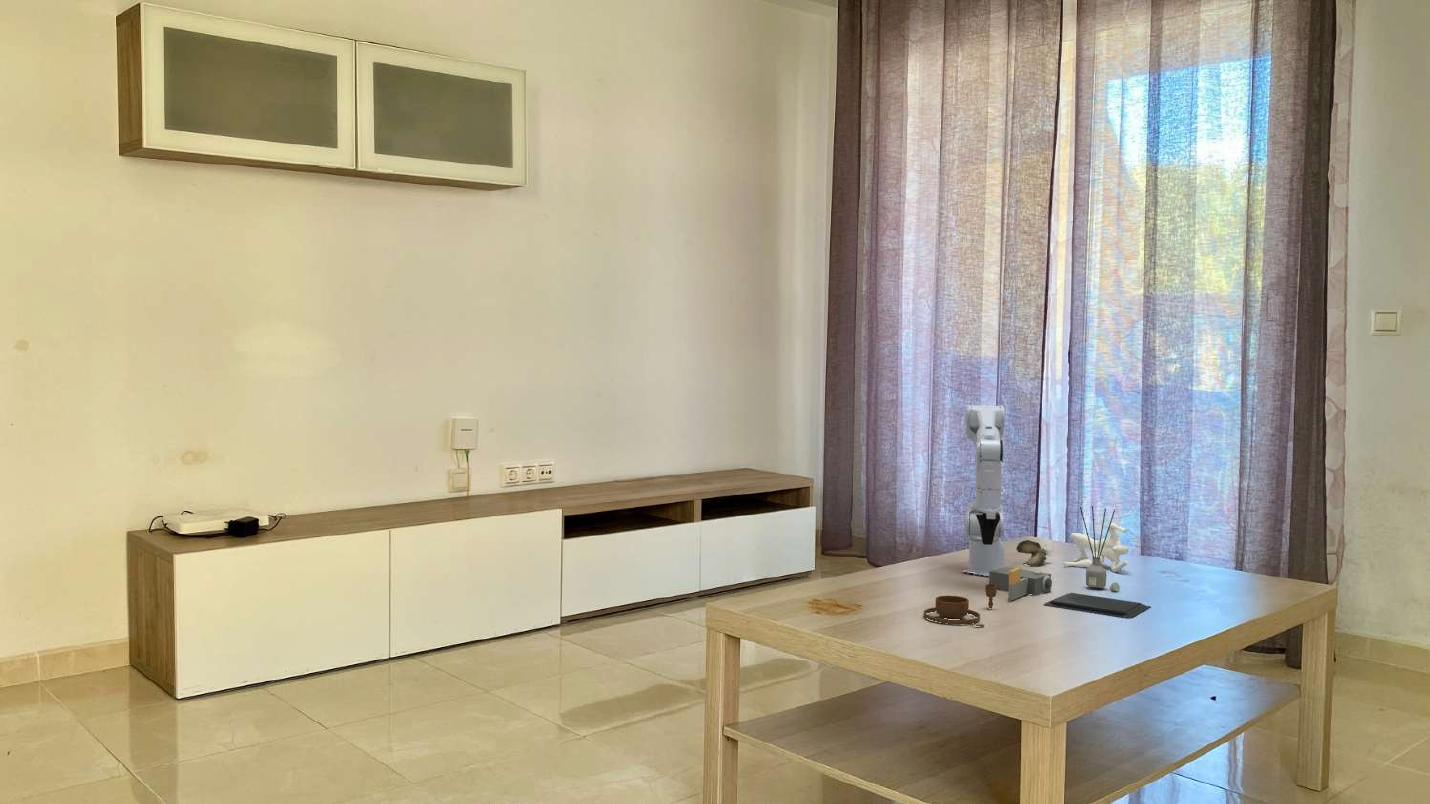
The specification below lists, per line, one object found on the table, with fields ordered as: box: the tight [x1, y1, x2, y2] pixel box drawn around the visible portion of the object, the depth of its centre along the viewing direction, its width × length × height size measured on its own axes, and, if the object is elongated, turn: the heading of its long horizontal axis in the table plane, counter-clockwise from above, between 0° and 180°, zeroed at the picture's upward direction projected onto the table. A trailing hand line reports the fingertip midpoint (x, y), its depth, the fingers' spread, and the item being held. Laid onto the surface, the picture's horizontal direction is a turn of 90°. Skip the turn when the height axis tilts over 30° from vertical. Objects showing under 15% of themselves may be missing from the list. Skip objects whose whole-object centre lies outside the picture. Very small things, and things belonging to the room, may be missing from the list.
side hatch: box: [1007, 567, 1028, 602], centre depth 258 cm, size 1×10×7 cm, turn 143°
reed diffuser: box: [1079, 505, 1121, 592], centre depth 269 cm, size 10×7×20 cm
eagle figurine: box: [1015, 539, 1054, 567], centre depth 300 cm, size 8×7×9 cm
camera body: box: [988, 566, 1053, 596], centre depth 267 cm, size 8×13×4 cm, turn 47°
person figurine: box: [1062, 522, 1130, 573], centre depth 296 cm, size 13×13×18 cm
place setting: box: [923, 583, 998, 629], centre depth 238 cm, size 18×20×6 cm
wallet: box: [1043, 592, 1152, 620], centre depth 250 cm, size 20×2×15 cm
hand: (987, 544), depth 269 cm, fingers closed
